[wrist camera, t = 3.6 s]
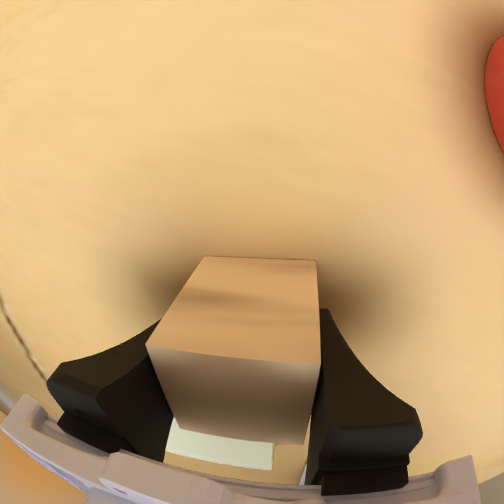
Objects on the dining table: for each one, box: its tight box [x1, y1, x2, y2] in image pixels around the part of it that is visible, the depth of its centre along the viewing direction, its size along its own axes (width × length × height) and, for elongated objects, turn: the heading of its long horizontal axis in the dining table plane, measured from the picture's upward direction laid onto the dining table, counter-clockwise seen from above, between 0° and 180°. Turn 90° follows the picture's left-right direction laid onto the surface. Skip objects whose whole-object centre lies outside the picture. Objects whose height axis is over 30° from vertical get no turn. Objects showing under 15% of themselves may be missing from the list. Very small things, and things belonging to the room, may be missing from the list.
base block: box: [165, 417, 275, 470], centre depth 18 cm, size 10×10×3 cm
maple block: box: [145, 256, 321, 445], centre depth 11 cm, size 5×5×6 cm
